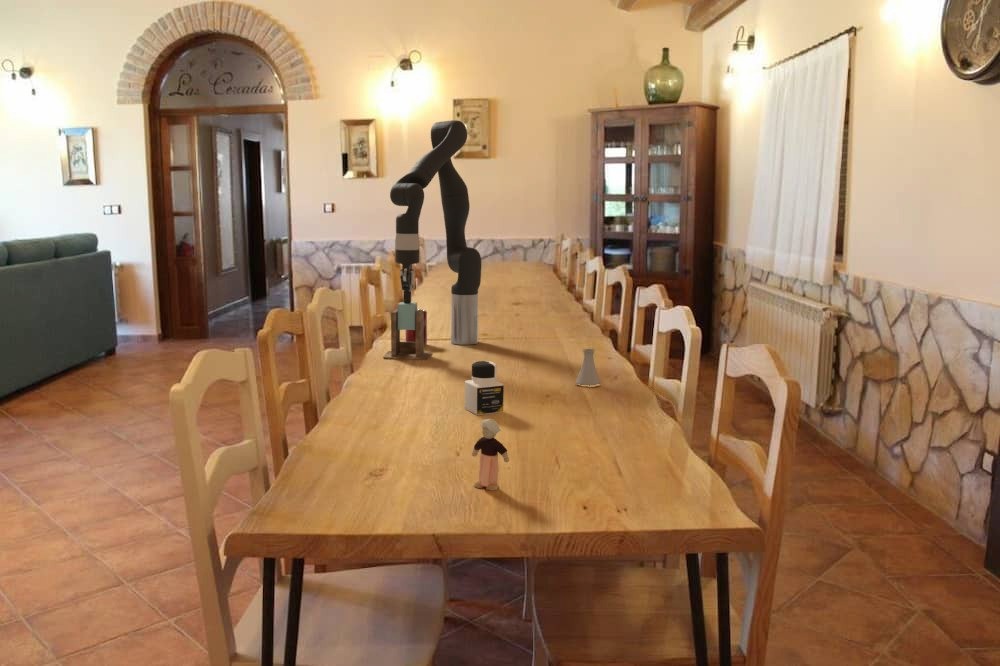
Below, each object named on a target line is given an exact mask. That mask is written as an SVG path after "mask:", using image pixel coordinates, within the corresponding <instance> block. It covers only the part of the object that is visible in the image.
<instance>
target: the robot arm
mask: <svg viewBox="0 0 1000 666" xmlns="http://www.w3.org/2000/svg"><path fill="white" fill-rule="evenodd" d="M467 140H468V129H467V127H466V125H465V124H464V123H463V121H461V120H457V119H455V120H454V119H453V120H445V121H437V122H434V123H433V124H432V126H431V128H430V141H431V146H432V149H431V150H430V151H428V152H427V153H426V154H424V155H422V156H421V157H420V158H419V159H418V160H417V162H415V164H414V165H413V167H412V168H411V169H410V171H409V172H407V173H406V174H404V175H403V176H402V177H400V178H399V179H398V180H397V181H396V182H395V183H394V184H393V185H392V187H391V189H390V192H389V198H390V201H391V202H392V203H393V204H394V205H395V206H398V207H407V209H406V211H405V212H404V213H401V214H398V215H397V216H396V217H395V239H394V240H395V241H394V245H395V247H394V249H395V250H394V254H395V255H394V256H395V257H394V258H395V259H394V261H395V263H396V264H398V265H402V266H401V267H402V268H401V269H400V270H399V274H400V276H399V277H400V284H401V290H402V292H403V302H404V303H406V304H409V303H411V302H412V292H413V291H412V290H413V287H414V276H415V269H414V268H413V265H416V264H419V263H420V235H419V233H420V232H419V224H420V223H419V220H420V216H421V214H422V213H421V212H422V209H423V205H424V201H425V192H424V189H425V188H427V187H428V185H429V184H430V183H431V182H432V180H433V178H434V177H435V176H436V174H437V175H438V181H439V189H440V199H441V205H442V206H441V207H442V213H443V219H444V228H445V238H446V242H445V243H446V259H447V265H448V267H449V268H450V270H451V271H452V272H454V273H456V274H457V280H456V282H455V283H454V284H452V285H451V287H450V288H451V290H450V291H451V292H450V293H451V294H450V297H451V299H450V304H451V306H450V307H451V308H450V341H451V342H450V343H451V344H455V345H460V346H461V345H462V346H463V345H465V346H467V345H477V344H478V342H479V313H478V312H479V310H478V309H479V288H480V286H481V280H482V279H481V277H482V255H481V254H480V252H479V251H478V249H476V248H474V247H470V246H467V242H466V233H465V232H466V225H467V221H468V217H469V215H470V214H469V213H470V197H469V191H468V187H467V184H466V183H465V181H464V180H463V178H462V177H461V175H460V174H459V173H458V171H457V170H456V168H455V166H454V164H453V161H452V157H453V156H454V155H456V154H457V152H458V151H459V150H461V149H462V148H463V147H464V145H466V142H467Z"/></svg>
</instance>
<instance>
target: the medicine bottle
mask: <svg viewBox="0 0 1000 666" xmlns="http://www.w3.org/2000/svg"><path fill="white" fill-rule="evenodd" d="M497 378H498V365H497V364H496V363H495V362H493V361H489V360H488V361H487V360H480V361H475V362H473V363H472V364H471V379H469V380H465V381H464V409H465V410H466V411H468V412H469V413H472V414H473V415H475V416H477V417H478V416H485V415H487V416H488V415H495V414H502V413H503V412H504V390H505V389H504V387H505V385H504V383H502V382H500V381H497V380H498V379H497Z"/></svg>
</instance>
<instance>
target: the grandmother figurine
mask: <svg viewBox="0 0 1000 666" xmlns="http://www.w3.org/2000/svg"><path fill="white" fill-rule="evenodd" d="M480 426H481V429H482V430H481V434H482V437H480V438H479V439H478V440H477V441H476V443H475V444H474V445H473V450H472V452H471V456H472V457H477V456H478V453H479V451H480V455H479V469H478V481H476V482H475V483H474V485H473V487H475V488H477V489H482V488H485V489H486V491H493V492H494V491H497V490H498V489H499V488H500V486H499V484H498V482H499V481H498V480H499V479H498V478H499V477H498V476H499V459H498V455H500V456H501V457H502V459H503V461H504V463H508V462H509V461H510V457H509V454H508V449H507V448H506V447H505V446H504V444H503V443H501V442H500V441H499V440H498V439H496V438H495V437H496V435H497V434H498V433H499V432H500V431H501V429H500V425H498V423H497V422H496V420H495V419H493V418H485V419H483V420H482V421H481V425H480Z"/></svg>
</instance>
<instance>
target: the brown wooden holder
mask: <svg viewBox="0 0 1000 666" xmlns="http://www.w3.org/2000/svg"><path fill="white" fill-rule="evenodd" d="M418 309H419V310H418V311H417V312H416V342H406V341H401V330H398V308H394V309H393V310H392V311H391V312H390V342H391V343H390V350H387V352H386V353H385V354H384V355H383V357H382V359H383V358H396V359H395V360H412V359H419V360H420V361H423V360H424V361H428V360H429V359H428V358H430V357H431V355H432V351H425V346H424V310H425V309H424V308H423V309H422V308H418ZM397 358H398V359H397ZM427 359H428V360H427ZM419 360H418V361H419Z"/></svg>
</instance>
